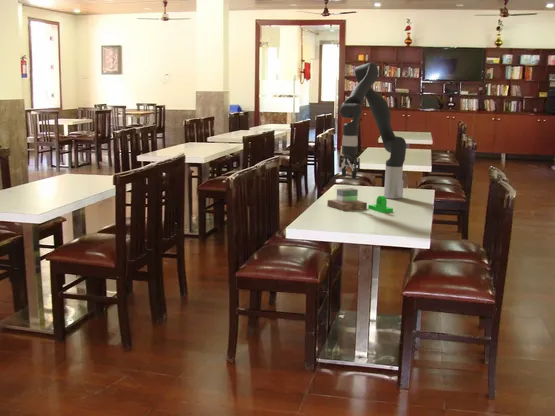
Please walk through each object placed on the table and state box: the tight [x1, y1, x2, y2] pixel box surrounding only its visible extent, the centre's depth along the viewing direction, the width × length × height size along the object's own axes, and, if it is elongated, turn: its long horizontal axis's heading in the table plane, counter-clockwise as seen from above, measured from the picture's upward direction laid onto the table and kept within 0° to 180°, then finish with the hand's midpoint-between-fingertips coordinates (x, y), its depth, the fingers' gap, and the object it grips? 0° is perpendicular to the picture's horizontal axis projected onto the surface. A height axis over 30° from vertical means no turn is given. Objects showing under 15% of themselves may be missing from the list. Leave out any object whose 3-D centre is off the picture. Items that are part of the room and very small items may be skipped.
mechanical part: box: [367, 195, 394, 214], centre depth 307 cm, size 12×6×8 cm, turn 27°
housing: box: [336, 187, 359, 203], centre depth 313 cm, size 5×9×6 cm, turn 118°
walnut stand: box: [326, 198, 368, 212], centre depth 313 cm, size 14×14×3 cm
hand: (348, 177), depth 311 cm, fingers open, 8 cm apart
